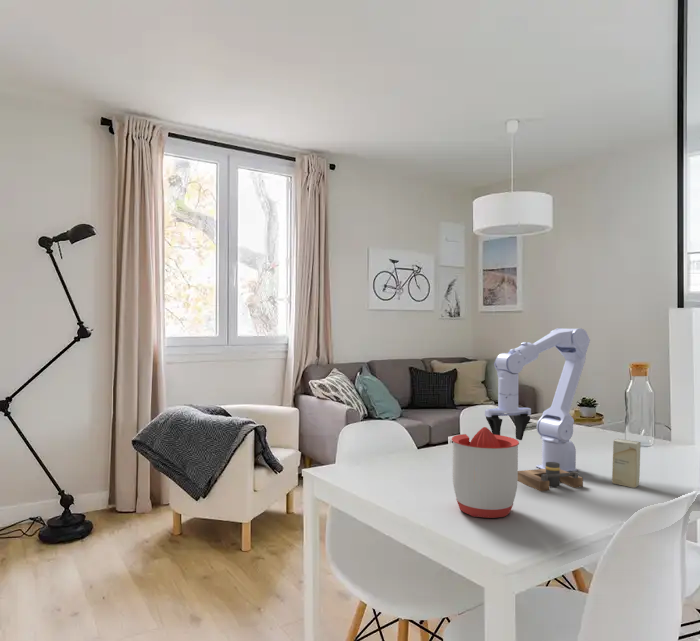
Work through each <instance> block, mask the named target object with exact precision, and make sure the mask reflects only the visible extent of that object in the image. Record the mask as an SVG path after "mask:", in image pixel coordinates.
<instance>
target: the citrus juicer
mask: <svg viewBox="0 0 700 641" xmlns="http://www.w3.org/2000/svg"><path fill="white" fill-rule="evenodd" d="M451 441H452V484H453V489H454V494H455V497H456V499H455V500H456V502H457V505H458V507H459V510H460V511H462V513H465V514H467V515H469V516H470V517H472V518H487V519H489V518H490V519H491V518H492V519H495V518H505V517H506V516H508V515H509V514H510V512H511V511H512V508H513V506H514V502H515V498H516V494H517V490H518V482H519V481H518V471H519V469H518V468H519V465H518V464H519V463H518V462H519V458H518V457H519V456H518V454H519V452H518V451H519V445H520V442H519V441H520V440H518V439H516V438H513V437H510V436H507V435H501V434H500V435H493V433H492V430H491V429H489V428H488V427H486V426H484V427H482V428H481V429H479V430H478V431H477V432H476V434H474V435H473V437H472V438H471V440H470V436H468V435H467V434H466V433H464V434H461V433H460V434H457V435H454V436H453V437H451Z"/></svg>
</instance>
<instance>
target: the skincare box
mask: <svg viewBox="0 0 700 641" xmlns="http://www.w3.org/2000/svg"><path fill="white" fill-rule="evenodd" d="M612 443H613V446H612V449H613V450H612V475H611V476H612V477H611V480H612V481H611V482H612V484H613V485H614V484H615V485H618V486H619V485H620V486H623V487H629V488H632V489H635V488H638V487H639V486H640V474H641V472H640V470H641V469H640V468H641V445H642V444H641V441H636V440H630V439H629V440H628V439H623V438H616V439H614V440H613V441H612Z"/></svg>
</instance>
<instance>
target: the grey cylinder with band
mask: <svg viewBox="0 0 700 641" xmlns="http://www.w3.org/2000/svg"><path fill="white" fill-rule="evenodd" d="M549 474H560V464H559V463H556V462H546V475H549ZM548 481H549V488H550V487H551V488H558V487H560V483H561V482H560V477H555V478H548Z"/></svg>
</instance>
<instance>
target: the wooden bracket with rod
mask: <svg viewBox="0 0 700 641" xmlns="http://www.w3.org/2000/svg"><path fill="white" fill-rule="evenodd" d="M555 477H560V483H561V484H564V485H566V486H569V487H572V488H573V489H574V488H583V487H584V477H582V476H579V472H578V471H570V472H566V471H564V470H561V469H560V474H549V475H546V469H540V468H538V469H537V468H536V469H527V470H526V469H525V470H518V481H517V482H519V483H521V484H523V485H526V486H528V487H530V488H532V489H534V490H536V491H539V492H546V491H550V486H549V481H548V478H555Z"/></svg>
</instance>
